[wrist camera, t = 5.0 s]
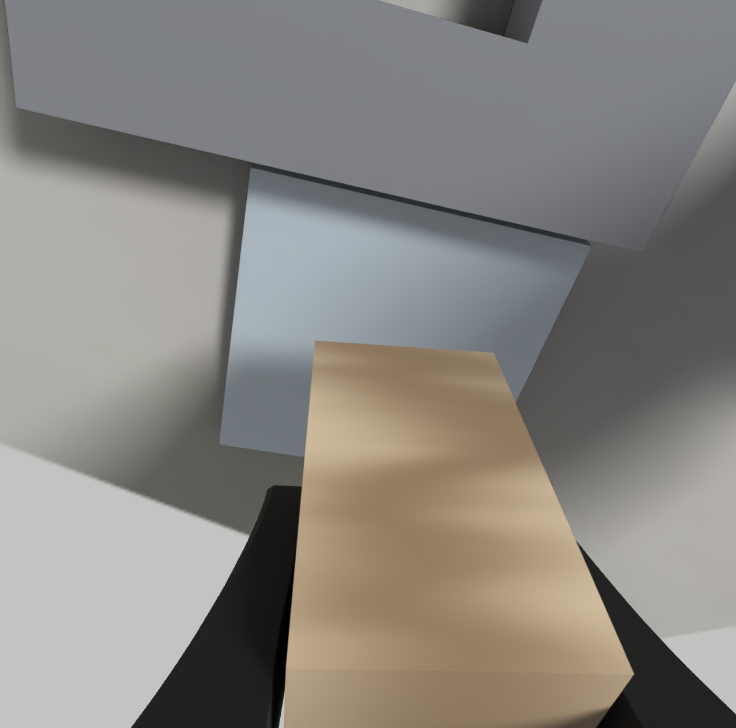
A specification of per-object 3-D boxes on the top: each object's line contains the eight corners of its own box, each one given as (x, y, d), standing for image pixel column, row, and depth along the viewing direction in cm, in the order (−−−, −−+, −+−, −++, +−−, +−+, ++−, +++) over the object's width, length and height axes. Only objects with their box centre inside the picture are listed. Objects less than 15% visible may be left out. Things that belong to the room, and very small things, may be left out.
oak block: (493, 352, 12) (634, 674, 6) (459, 480, 14) (538, 806, 8) (315, 340, 12) (285, 668, 6) (307, 473, 14) (281, 809, 8)
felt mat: (583, 237, 15) (591, 246, 14) (473, 471, 20) (477, 483, 19) (254, 161, 13) (250, 167, 13) (222, 432, 18) (218, 444, 18)
